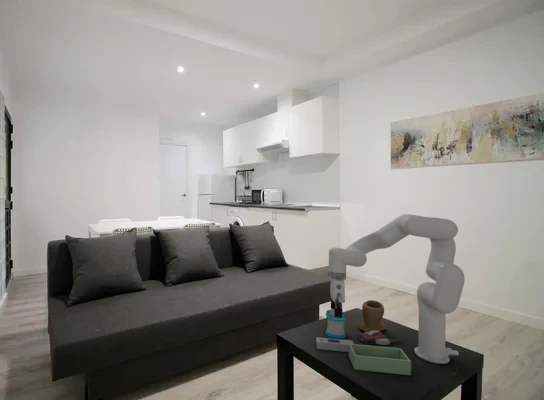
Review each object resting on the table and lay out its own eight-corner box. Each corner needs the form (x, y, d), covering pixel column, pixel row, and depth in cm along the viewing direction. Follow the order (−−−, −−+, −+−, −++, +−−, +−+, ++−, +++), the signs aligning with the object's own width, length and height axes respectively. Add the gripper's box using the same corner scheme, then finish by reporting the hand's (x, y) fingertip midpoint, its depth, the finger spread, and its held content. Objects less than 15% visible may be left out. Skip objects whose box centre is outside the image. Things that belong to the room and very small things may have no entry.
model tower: (337, 328, 155) (337, 271, 155) (350, 337, 145) (351, 276, 145) (321, 330, 152) (321, 272, 152) (333, 339, 143) (334, 277, 142)
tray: (400, 361, 124) (400, 348, 124) (411, 375, 114) (411, 361, 114) (348, 356, 128) (348, 343, 128) (354, 369, 118) (354, 355, 118)
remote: (352, 347, 135) (352, 340, 135) (354, 352, 131) (354, 345, 131) (315, 344, 138) (315, 336, 138) (317, 349, 134) (317, 341, 134)
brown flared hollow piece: (371, 337, 145) (371, 307, 145) (353, 327, 156) (353, 299, 156) (394, 333, 150) (394, 303, 149) (375, 323, 161) (376, 296, 161)
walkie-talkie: (366, 347, 135) (404, 343, 139) (366, 338, 135) (404, 334, 139) (354, 338, 144) (390, 335, 147) (354, 329, 144) (390, 326, 147)
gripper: (350, 281, 125) (349, 321, 125) (342, 271, 142) (341, 306, 142) (331, 279, 126) (330, 319, 127) (325, 270, 143) (324, 305, 144)
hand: (336, 312), depth 134 cm, fingers open, 9 cm apart
